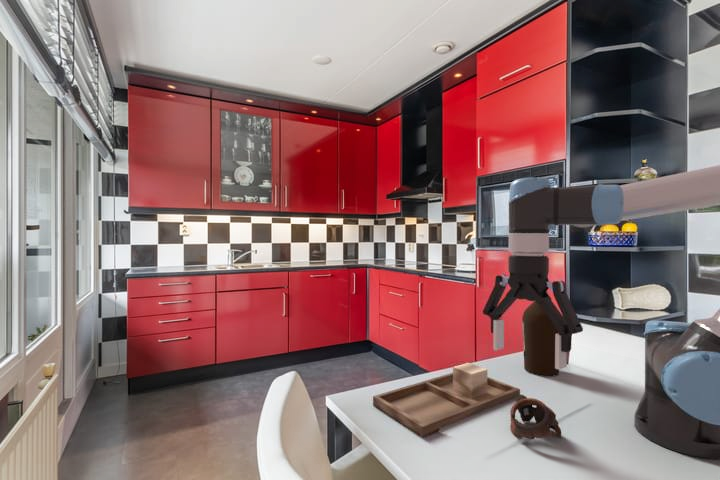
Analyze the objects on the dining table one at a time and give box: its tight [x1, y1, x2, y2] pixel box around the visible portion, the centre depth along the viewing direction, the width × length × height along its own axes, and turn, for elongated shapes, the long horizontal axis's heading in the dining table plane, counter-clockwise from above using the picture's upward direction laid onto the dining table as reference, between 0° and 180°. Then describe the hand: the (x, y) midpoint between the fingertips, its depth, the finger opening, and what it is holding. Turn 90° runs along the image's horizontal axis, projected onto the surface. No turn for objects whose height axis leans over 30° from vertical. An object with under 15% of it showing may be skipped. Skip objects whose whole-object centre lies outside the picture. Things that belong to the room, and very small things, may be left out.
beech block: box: [452, 362, 488, 399], centre depth 93 cm, size 6×6×6 cm
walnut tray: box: [372, 372, 521, 438], centre depth 89 cm, size 17×33×2 cm, turn 124°
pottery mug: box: [509, 394, 562, 440], centre depth 75 cm, size 12×10×8 cm
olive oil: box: [521, 290, 560, 377], centre depth 109 cm, size 11×11×25 cm
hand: (527, 357), depth 75 cm, fingers open, 13 cm apart
